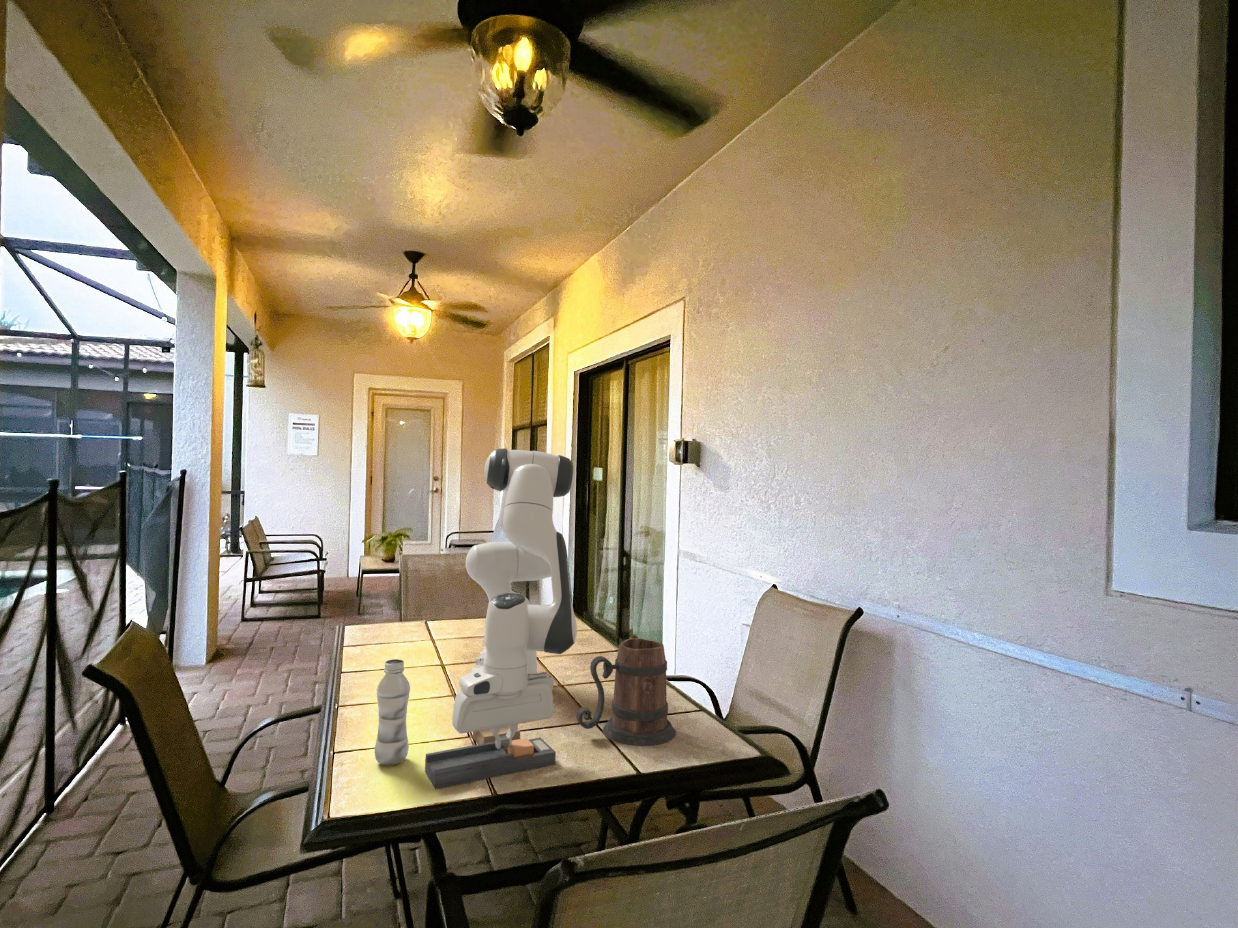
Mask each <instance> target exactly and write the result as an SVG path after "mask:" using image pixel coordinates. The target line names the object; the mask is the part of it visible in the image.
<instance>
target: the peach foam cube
mask: <svg viewBox="0 0 1238 928" xmlns="http://www.w3.org/2000/svg"><path fill="white" fill-rule="evenodd" d="M533 752H534V745H533V744H532V743H531V742H530V741H529V739H528V738H527V737H525V738H520V739H518V740H512V746H511V747H508V754H509V753H512V754H513V757H519V756H524V755H529V754H533Z"/></svg>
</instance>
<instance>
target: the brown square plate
mask: <svg viewBox="0 0 1238 928" xmlns="http://www.w3.org/2000/svg"><path fill="white" fill-rule="evenodd" d="M508 730H509V727H508V726H503V727H501V729H500V732H498V734H499V736H500V737H501V736H506V734H507V732H508ZM472 739H473V740H474V741H475V743H476V745H478V744H483V743H489V742H494V741H496V738H495V737H494V735H493V733H492V731H491V730H490V729H485V730H480V731H474V732H472ZM518 739H521V729H519V728H518V729H517V731H516V733H515V735H514V736H513V738H512V740H518Z"/></svg>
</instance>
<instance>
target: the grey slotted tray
mask: <svg viewBox="0 0 1238 928" xmlns="http://www.w3.org/2000/svg"><path fill="white" fill-rule="evenodd" d="M528 740H529V741H530V742H531V743H532V744H533V745H534V752H533V754H529V755H524V756H519V757H513V754H512V753H509V754H508V747H506V748H501V749H497V748H496V745H495V742H496V741H494V742H489V743H483V744H473V745H467V746H462V747H457V748H450V749H447V750H441V751H434V752H428V753H426V754H425V760H424V772H425V774H426V776H427V778H428V780H429V782H430V783H431V785H432V787H433V789H434V790H439V789H444V788H449V787H454V786H458V785H463V784H467V783H473V782H478V781H483V780H487V779H491V778H497V777H501V776H507V775H511V774H517V773H521V772H525V771H530V770H535V769H540V768H545V767H549V766H554V765H556V753H557V752H556V750H554V749H553V748H552V747H551V746H550V745H549V744H548V743H547V742H546V741H545V740H544V739H542V738H541V737H535V738H529V739H528Z"/></svg>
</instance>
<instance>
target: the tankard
mask: <svg viewBox="0 0 1238 928" xmlns="http://www.w3.org/2000/svg"><path fill="white" fill-rule="evenodd" d="M600 663H603V664H602V667H603V668H602V670H603V673H602V678H604V679H605V680H606V679H609V677H610V676H611V675H612V673H614V670H615V675H614V687H613V688H614V689H613V699H612V703H611V711H612V712H611V713H612V714H611V717H610V718H608V720H607V723H605V725H603V727H602V734H603V735H604V736H605V737H606V738H608V740H610V741H613V742H615V743H617V744H621V745H624V746H625V745H626V746H630V747H631V746H632V747H653V746H655V747H656V746H660V745H663V744H667V743H669V742H671V741H673V739H675V737H676V736H677V731H676V730H675V727H673V726H672V725H673V724H672V723H671V721H669V719H668V714H669V713H668V712H669V703H668V700H667V671H668V661H667V659H666V654H665V648H664V644H663V643H662V642H660V641H657V640H651V639H646V638H645V639H644V638H638V637H636V638H628V639H625V640H623V641H621V642H620V643H619V645H618V651H617V655H616V658H615V660H614V664H613V663H612V662H611V661H610V660H609V659H608V658H606V657H605V656H602V655H600V656H599V655H598V656H596V657H594V658H593V659H592V660H591V662H590V666H589V667H590V668H589V669H590V674H591V677H592V679H593V681H594V683H595V685H596V688H597V695H598V696H597V697H598V698H597V705H596V710H595V712H594V714H593V717H592V712H591V710H590V709H589V708H588V707H586V706H584V707H580V708H579V709H578V710H577V711H576V717H575V718H576V721H577V722H578V724H579V725H580V726H581V727H582V728H584V729H587V730H590V729H593V728H595V727H596V726H597V724H599V722H600V721H601V718H602V716H603V712H604V708H605V691H604V690H605V689H604V686H603V684H602V682H601V680H600V678H599V676H598V672H597V671H598V670H597V666H598V665H599V664H600ZM585 714H586V716H584V715H585ZM583 716H584V717H583ZM583 718H584V720H585V721H583Z"/></svg>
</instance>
